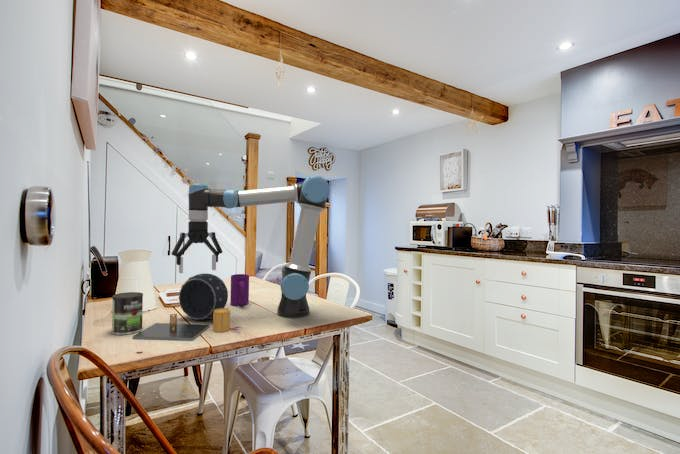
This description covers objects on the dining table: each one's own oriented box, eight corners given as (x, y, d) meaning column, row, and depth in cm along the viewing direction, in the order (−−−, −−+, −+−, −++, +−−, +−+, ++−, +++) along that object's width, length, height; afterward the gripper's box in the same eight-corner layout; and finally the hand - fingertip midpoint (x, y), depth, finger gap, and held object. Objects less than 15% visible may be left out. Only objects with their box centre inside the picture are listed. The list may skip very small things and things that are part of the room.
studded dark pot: (217, 324, 147) (218, 277, 147) (175, 320, 151) (175, 274, 151) (230, 317, 158) (231, 273, 157) (190, 314, 162) (191, 270, 161)
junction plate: (209, 327, 144) (209, 310, 143) (192, 340, 128) (192, 321, 127) (156, 325, 144) (156, 308, 144) (132, 338, 128) (132, 319, 128)
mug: (247, 301, 188) (247, 273, 188) (252, 308, 174) (252, 278, 174) (229, 302, 185) (229, 274, 184) (233, 310, 170) (233, 279, 170)
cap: (231, 327, 143) (231, 308, 143) (226, 332, 137) (226, 312, 137) (216, 327, 144) (217, 307, 143) (211, 332, 138) (211, 311, 137)
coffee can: (148, 329, 138) (148, 294, 138) (120, 336, 130) (120, 299, 129) (134, 325, 144) (134, 290, 144) (106, 331, 135) (106, 295, 135)
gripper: (223, 220, 158) (223, 267, 159) (163, 220, 142) (163, 272, 142) (230, 221, 152) (230, 269, 153) (168, 220, 136) (168, 275, 137)
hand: (197, 271), depth 148 cm, fingers open, 13 cm apart
